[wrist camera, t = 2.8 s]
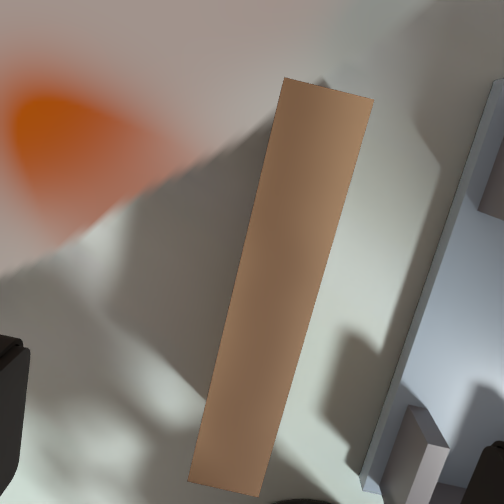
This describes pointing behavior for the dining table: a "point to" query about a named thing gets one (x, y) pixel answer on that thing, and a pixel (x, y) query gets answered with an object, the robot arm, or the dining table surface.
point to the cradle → (451, 345)
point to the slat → (278, 280)
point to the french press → (300, 502)
